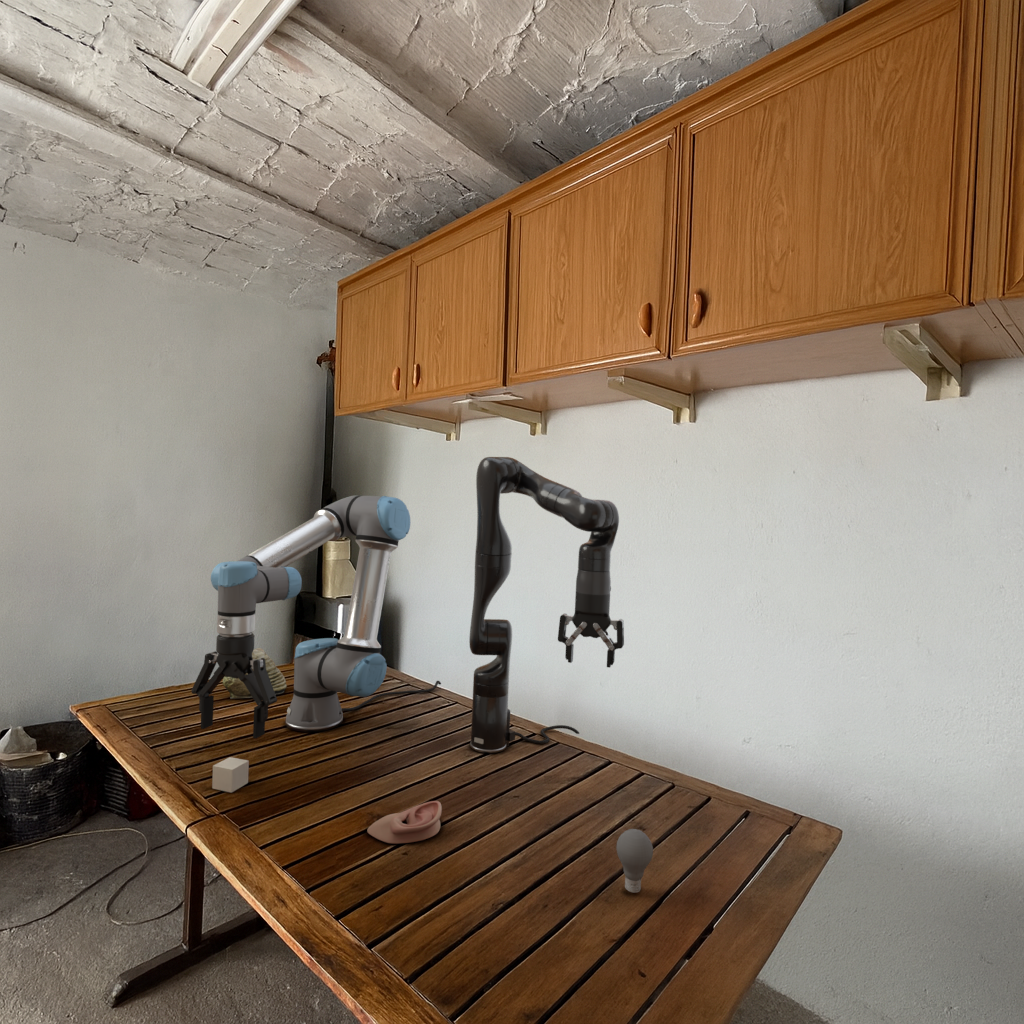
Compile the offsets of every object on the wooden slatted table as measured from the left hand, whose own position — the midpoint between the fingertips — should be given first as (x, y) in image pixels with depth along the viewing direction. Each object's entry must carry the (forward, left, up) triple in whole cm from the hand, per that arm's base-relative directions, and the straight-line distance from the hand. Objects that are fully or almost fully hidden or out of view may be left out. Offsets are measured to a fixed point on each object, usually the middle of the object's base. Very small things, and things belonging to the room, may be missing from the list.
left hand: (232, 731), depth 137 cm
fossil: (-35, -54, -12) cm, 65 cm away
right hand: (-50, +58, +17) cm, 79 cm away
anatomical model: (-14, +41, -12) cm, 45 cm away
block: (0, 0, -12) cm, 12 cm away
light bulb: (-26, +83, -12) cm, 88 cm away
